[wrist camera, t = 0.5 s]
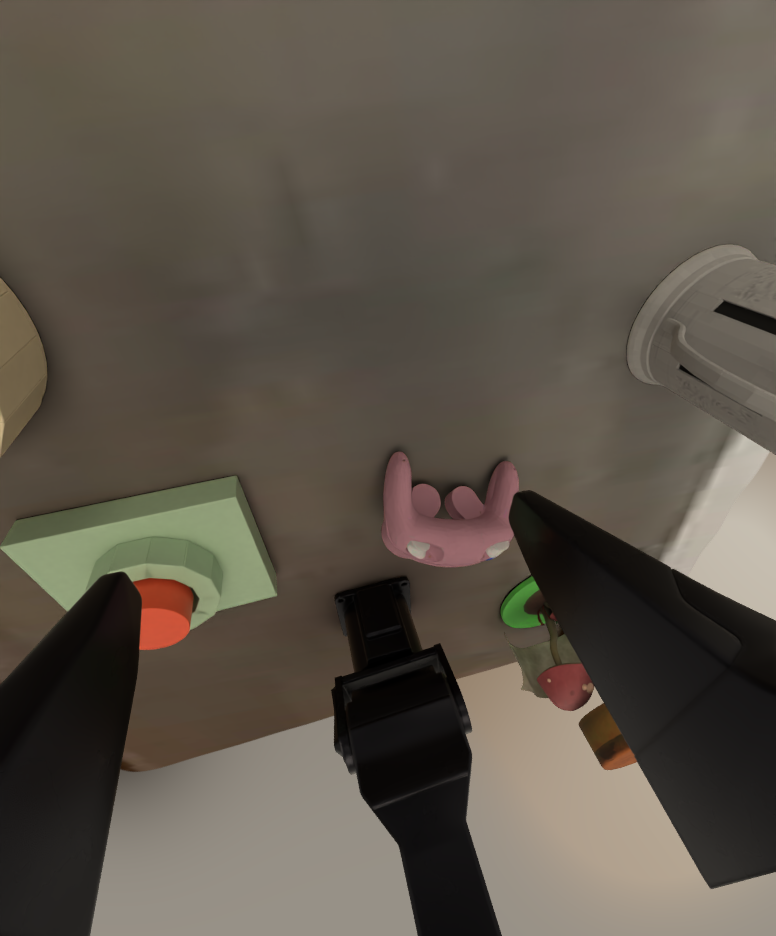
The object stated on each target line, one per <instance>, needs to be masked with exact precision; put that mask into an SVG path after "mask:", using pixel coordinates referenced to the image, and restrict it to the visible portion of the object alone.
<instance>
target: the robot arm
mask: <svg viewBox="0 0 776 936" xmlns="http://www.w3.org/2000/svg"><path fill="white" fill-rule="evenodd" d="M508 519H509V524H510V526H511V529H512V531H513V533H514V536H515V538H516V540H517V543H518V545H519V547H520V550H521V552H522V554H523V557H524V559H525V561H526V563H527V566H528V568H529V570H530V572H531V575H532V577H533V578H534V580H535V582H536V584H537V586H538V588H539V589H540V591H541V593H542V595H543V596H544V598H545V600H546V602H547V603H548V605H549V607H550V609H551V611H552V612H553V614H554V616H555V618H556V619H557V621H558V623H559V625H560V626H561V628H562V630H563V632H564V633H565V635H566V637H567V639H568V640H569V642H570V644H571V646H572V647H573V649H574V651H575V653H576V655H577V656H578V658H579V660H580V662H581V663H582V665H583V667H584V669H585V670H586V672H587V674H588V676H589V677H590V679H591V681H592V683H593V684H594V686H595V688H596V690H597V691H598V693H599V695H600V697H601V698H602V700H603V702H604V704H605V706H606V707H607V709H608V711H609V713H610V714H611V716H612V718H613V720H614V721H615V723H616V725H617V727H618V728H619V730H620V732H621V734H622V735H623V737H624V739H625V741H626V742H627V744H628V746H629V748H630V750H631V751H632V753H633V754H635V755H634V757H635V759H636V761H637V762H638V764H639V766H640V768H641V769H642V771H643V773H644V775H645V776H646V778H647V780H648V782H649V783H650V785H651V787H652V789H653V790H654V792H655V794H656V796H657V797H658V799H659V801H660V803H661V804H662V806H663V808H664V810H665V812H666V813H667V815H668V817H669V819H670V820H671V822H672V824H673V826H674V827H675V829H676V831H677V833H678V834H679V836H680V838H681V840H682V841H683V843H684V845H685V847H686V848H687V850H688V852H689V854H690V855H691V857H692V859H693V860H694V862H695V864H696V866H697V868H698V870H699V871H700V873H701V875H702V876H703V878H704V880H705V881H706V883H707V884H708V886H709V887H710V888H711V889H714V888H718V887H721V886H725V885H729V884H733V883H736V882H740V881H744V880H747V879H751V878H754V877H758V876H762V875H766V874H770V873H773V872H776V621H775V620H773V619H771V618H769V617H767V616H765V615H763V614H761V613H758V612H756V611H754V610H752V609H750V608H748V607H746V606H744V605H742V604H740V603H737V602H736V601H734V600H732V599H730V598H728V597H725V596H724V595H721V594H720V593H717V592H715V591H714V590H712V589H710V588H708V587H706V586H704V585H702V584H700V583H698V582H696V581H695V580H693V579H691V578H689V577H687V576H686V575H684V574H682V573H680V572H678V571H677V570H675V569H671V568H670V567H669V566H667V565H666V564H664V563H662V562H660V561H658V560H657V559H655V558H653V557H651V556H649V555H647V554H646V553H644V552H642V551H640V550H638V549H637V548H635V547H633V546H631V545H629V544H628V543H626V542H624V541H622V540H620V539H619V538H617V537H615V536H613V535H611V534H609V533H608V532H606V531H604V530H602V529H600V528H599V527H597V526H595V525H593V524H591V523H590V522H588V521H586V520H584V519H582V518H581V517H579V516H577V515H575V514H573V513H572V512H570V511H568V510H566V509H564V508H562V507H561V506H559V505H557V504H555V503H553V502H552V501H550V500H548V499H546V498H544V497H543V496H541V495H539V494H537V493H535V492H533V491H531V490H527V491H522V492H517V493H515V494H514V495H513V499H512V503H511V507H510V511H509V516H508ZM334 598H335V603H336V607H337V611H338V615H339V619H340V623H341V627H342V630H343V634H344V636H348V641H349V646H350V651H351V657H352V662H353V667H354V672H355V673H352V674H349V675H346V676H343V677H342V676H339V677H336V678H335V687H334V688H333V689H332V690H331V691H332V698H333V705H334V747H335V751H336V752H337V753H338V754H340V755H341V756H342V757H343V759H344V762H345V763H346V765H347V768H348V771H349V773H350V774H351V775H352V774H355V773H356V774H357V779H358V784H359V789H360V793H361V795H362V797H363V799H364V800H365V801H366V803H367V804H368V805H369V807H370V808H371V809H372V811H373V812H374V813H375V814H376V816H377V817H378V819H379V820H380V821H381V823H382V824H383V825H384V826H385V828H386V829H387V830H388V832H389V833H390V834H391V836H392V837H393V838H394V840H395V841H396V842H397V844H398V845H399V849H400V853H401V857H402V862H403V867H404V872H405V877H406V881H407V886H408V891H409V896H410V900H411V905H412V910H413V914H414V919H415V924H416V929H417V934H418V936H502V935H501V932H500V928H499V925H498V922H497V919H496V916H495V912H494V909H493V906H492V903H491V900H490V896H489V893H488V890H487V886H486V883H485V880H484V877H483V874H482V870H481V867H480V864H479V861H478V858H477V855H476V851H475V848H474V845H473V842H472V838H471V835H470V832H469V829H468V825H467V822H466V816H467V806H468V796H469V786H470V785H469V784H470V776H471V763H472V753H471V749H470V746H469V743H468V740H467V737H466V734H468V733H471V732H472V726H471V722H470V718H469V715H468V711H467V708H466V705H465V702H464V699H463V696H462V694H461V691H460V689H459V686H458V684H457V682H456V679H455V677H454V674H453V672H452V670H451V667H450V665H449V663H448V660H447V658H446V656H445V653H444V651H443V649H442V646H441V644H440V643H439V644H436V645H434V647H431V648H428V649H425V650H422V647H421V644H420V641H419V638H418V635H417V632H416V629H415V626H414V623H413V620H412V617H411V605H410V583H409V580H408V578H407V577H400V578H397V579H393V580H389V581H385V582H381V583H377V584H373V585H369V586H366V587H362V588H358V589H354V590H350V591H346V592H342V593H339V594H337V595H335V597H334ZM141 614H142V598H141V595H140V592H139V591H138V589H137V588H136V586H135V585H134V583H133V582H132V581H131V579H130V578H129V576H128V575H127V574H126V573H125V572H123V571H120V572H115V573H110V574H105V575H102V576H101V577H99V578H98V579H97V580H96V581H95V582H94V583H93V585H92V586H91V587H90V588H89V589H88V590H87V591H86V592H85V593H84V594H83V595H82V597H81V598H80V599H79V600H78V601H77V602H76V603H75V604H74V605H73V606H72V607H71V608H70V610H69V611H68V612H67V613H66V614H65V615H64V616H63V617H62V618H61V619H60V620H59V622H58V623H57V624H56V625H55V626H54V627H53V628H52V629H51V630H50V631H49V632H48V634H47V635H46V636H45V637H44V638H43V639H42V640H41V641H40V642H39V643H38V644H37V645H36V647H35V648H34V649H33V650H32V651H31V652H30V653H29V654H28V655H27V656H26V657H25V659H24V660H23V661H22V662H21V663H20V664H19V665H18V666H17V667H16V668H15V669H14V670H13V672H12V673H11V674H10V675H9V676H8V677H7V678H6V679H5V680H4V681H3V682H2V684H1V685H0V936H90V933H91V927H92V921H93V916H94V911H95V905H96V900H97V894H98V888H99V883H100V878H101V872H102V866H103V861H104V856H105V850H106V845H107V839H108V834H109V828H110V823H111V817H112V812H113V806H114V801H115V795H116V790H117V785H118V779H119V773H120V768H121V763H122V757H123V752H124V746H125V741H126V735H127V730H128V724H129V719H130V713H131V708H132V702H133V697H134V691H135V686H136V680H137V673H138V663H139V647H140V630H141Z"/></svg>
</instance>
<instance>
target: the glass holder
mask: <svg viewBox="0 0 776 936" xmlns="http://www.w3.org/2000/svg"><path fill="white" fill-rule="evenodd" d="M627 362H628V367H629V369H630V371H631V373H632V374H633V375H634V376H635V377H636V378H637V379H638V380H640V381H642V382H644V383H648V384H653V385H662V386H664V387H666V388H667V389H669V390H671V391H672V392H674V393H676V394H677V395H679V396H681V397H682V398H684V399H685V400H687V401H689V402H690V403H692V404H694V405H695V406H697V407H698V408H700V409H702V410H703V411H705V412H707V413H708V414H710V415H712V416H713V417H715V418H716V419H718V420H720V421H721V422H723V423H725V424H726V425H728V426H729V427H731V428H733V429H734V430H736V431H738V432H739V433H741V434H742V435H744V436H746V437H747V438H749V439H751V440H752V441H754V442H756V443H757V444H759V445H760V446H762V447H764V448H765V449H767V450H769V451H770V452H772V453H773V454H775V455H776V265H775V264H771V263H767V262H763V261H759V260H758V259H757V258H756V257H755V256H754V255H753V254H752V253H751V252H750V251H749V250H748V249H746V248H744V247H741V246H739V245H731V244H727V245H719V246H715V247H712V248H709V249H706V250H704V251H702V252H700V253H698V254H696V255H694V256H693V257H691V258H690V259H688V260H687V261H685V262H684V263H682V264H681V265H680V266H678V267H677V268H676V269H675V270H674V271H673V272H671V273H670V274H669V275H668V276H667V277H666V278H665V279H664V280H663V281H662V282H661V283H660V284H659V285H658V286H657V288H656V289H655V290H654V291H653V293H652V294H651V295H650V297H649V298H648V299H647V301H646V302H645V304H644V305H643V307H642V309H641V310H640V312H639V314H638V316H637V318H636V320H635V322H634V324H633V327H632V329H631V332H630V335H629V339H628V344H627Z"/></svg>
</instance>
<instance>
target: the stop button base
mask: <svg viewBox="0 0 776 936" xmlns="http://www.w3.org/2000/svg"><path fill="white" fill-rule="evenodd" d="M0 548H1V549H2V550H3V551H4V552H5V553H6V554H7V555H8V556H9V557H10V558H11V559H12V560H13V561H14V562H15V563H16V564H18V565H19V566H20V567H21V568H22V569H23V570H24V571H25V572H26V573H27V574H28V575H29V576H30V577H31V578H32V579H33V580H35V581H36V582H37V583H38V584H39V585H40V586H41V587H42V588H43V589H44V590H45V591H46V592H47V593H48V594H49V595H50V596H52V597H53V598H54V599H55V600H56V601H57V602H58V603H59V604H60V605H61V606H62V607H63V608H64V609H65V610H66V611H67V612H68V611H69V610H70V608H71V607H72V606H73V605H74V604H75V603H76V602H77V601H78V600H79V599H80V598H81V597H82V595H83V594H84V593H85V592H86V591H87V590H88V589H89V588H90V587H91V586H92V585H93V583H94V582H95V581H96V580H97V579H98V578H99V577H101V576H102V575H105V574H110V573H115V572H120V571H123V572H125V573H126V574H127V575H128V576H129V578H130V579H131V581H132V582H134V581H138V580H142V579H146V578H158V579H173V580H176V581H178V582H180V583H183V584H185V585H187V586H188V587H189V588H190V589H191V590H192V592H193V596H194V600H193V608H192V616H191V624H190V630H191V629H194V628H196V627H197V626H199V625H200V624H201V623H203V622H204V621H206V620H207V619H209V618H210V617H212V616H213V615H214V614H215V612H216V611H219V610H223V609H227V608H231V607H235V606H239V605H243V604H247V603H251V602H255V601H259V600H263V599H267V598H271V597H274V596H277V582H276V573H275V570H274V568H273V565H272V563H271V560H270V558H269V555H268V552H267V550H266V547H265V545H264V542H263V540H262V537H261V535H260V532H259V530H258V527H257V525H256V522H255V520H254V517H253V515H252V512H251V510H250V507H249V505H248V502H247V500H246V497H245V495H244V492H243V490H242V487H241V485H240V482H239V480H238V477H237V476H231V477H226V478H221V479H216V480H211V481H206V482H201V483H197V484H192V485H187V486H182V487H177V488H172V489H167V490H162V491H157V492H153V493H148V494H143V495H138V496H133V497H128V498H123V499H118V500H113V501H109V502H104V503H99V504H94V505H89V506H84V507H79V508H74V509H69V510H65V511H60V512H55V513H50V514H45V515H40V516H35V517H30V518H25V519H21V520H16V521H15V522H14V524H13V526H12V527H11V529H10V531H9V532H8V534H7V536H6V537H5V539H4V541H3V542H2V544H1V545H0Z"/></svg>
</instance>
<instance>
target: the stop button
mask: <svg viewBox="0 0 776 936" xmlns="http://www.w3.org/2000/svg"><path fill="white" fill-rule="evenodd" d="M133 583H134V585H135V586H136V588H137V589H138V591H139V592H140V595H141V598H142V614H141V630H140V647H139V650H150V649H158V648H163V647H167V646H170V645H173V644H175V643H177V642H179V641H181V640H182V639H183V638H184V637H185V636H186V635H187V634H188V632H189V630H190V624H191V616H192V608H193V600H194V596H193V592H192V590H191V589H190V588H189V587H188V586H187V585H185V584H183V583H180V582H178V581H176V580H173V579H158V578H146V579H142V580H138V581H134V582H133Z"/></svg>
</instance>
